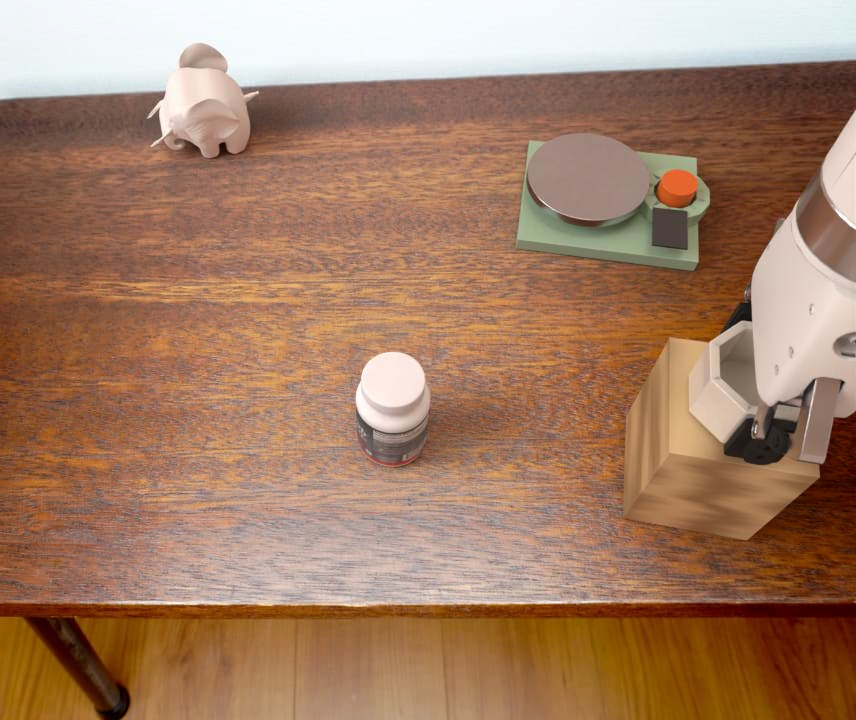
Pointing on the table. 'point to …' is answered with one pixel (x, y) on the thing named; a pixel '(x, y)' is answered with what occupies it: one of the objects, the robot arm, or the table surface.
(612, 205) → the scale pan
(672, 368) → the stand
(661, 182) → the tare button
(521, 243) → the scale
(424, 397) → the pill bottle
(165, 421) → the table surface
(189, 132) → the elephant figurine
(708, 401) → the bowl
